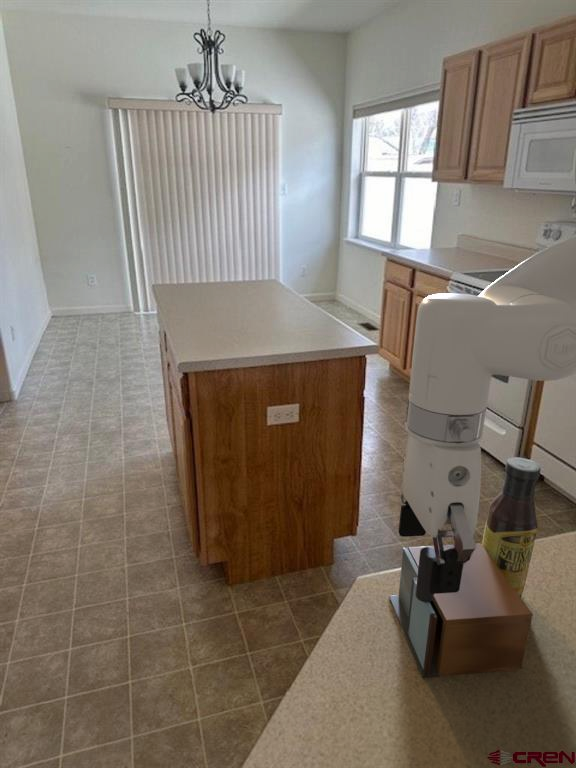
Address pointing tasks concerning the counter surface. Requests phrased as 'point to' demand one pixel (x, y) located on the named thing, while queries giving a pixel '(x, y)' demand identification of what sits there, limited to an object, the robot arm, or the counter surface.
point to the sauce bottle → (513, 522)
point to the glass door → (422, 612)
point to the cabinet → (469, 618)
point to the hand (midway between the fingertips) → (426, 560)
